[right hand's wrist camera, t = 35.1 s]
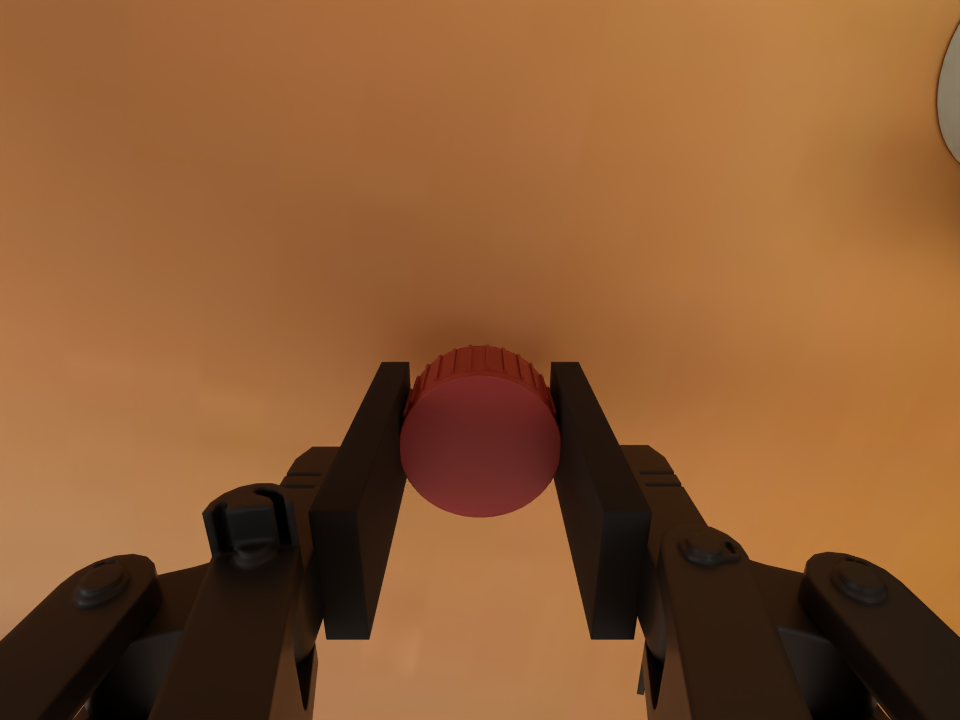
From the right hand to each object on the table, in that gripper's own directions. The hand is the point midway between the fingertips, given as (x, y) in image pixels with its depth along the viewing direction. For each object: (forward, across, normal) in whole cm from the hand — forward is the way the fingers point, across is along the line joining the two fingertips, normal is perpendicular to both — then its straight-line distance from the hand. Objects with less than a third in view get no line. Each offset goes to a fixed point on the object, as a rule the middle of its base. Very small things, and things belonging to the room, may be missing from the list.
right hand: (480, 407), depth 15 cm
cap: (-2, 0, 0) cm, 2 cm away
